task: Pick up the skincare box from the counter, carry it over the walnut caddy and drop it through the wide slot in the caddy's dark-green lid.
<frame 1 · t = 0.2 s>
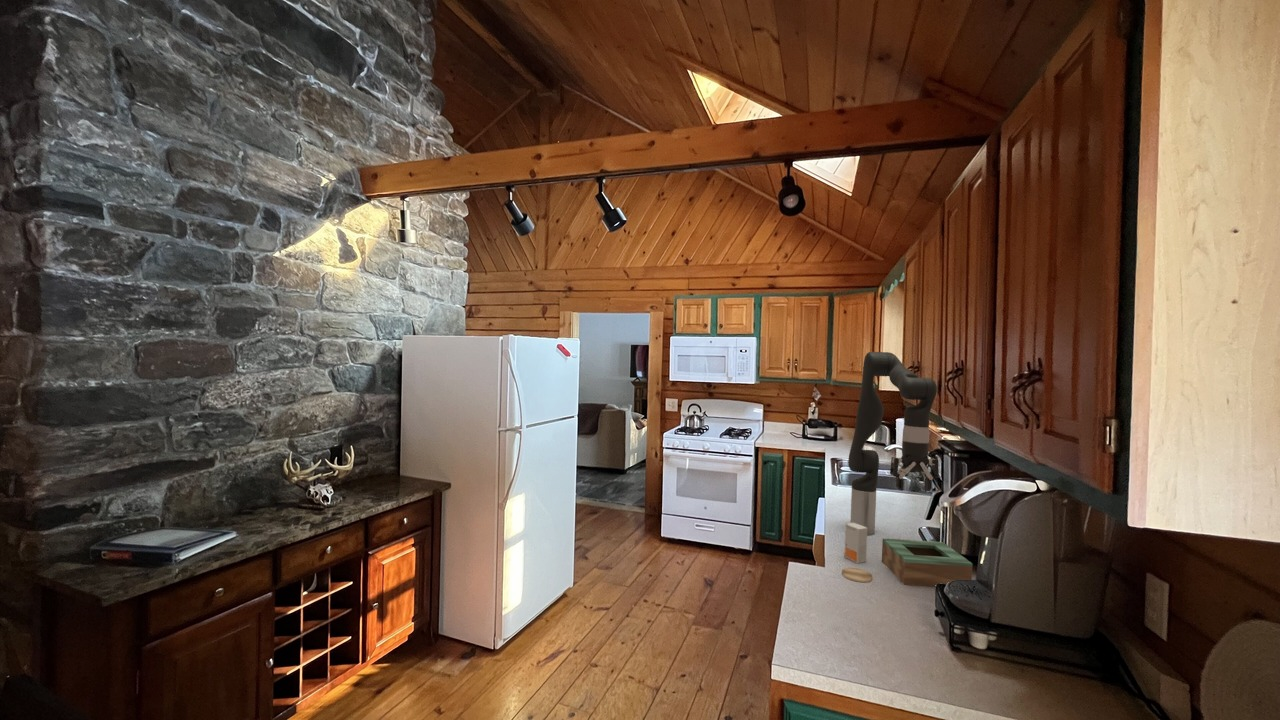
hand: (913, 490, 163), 28 cm above the counter, fingers open, 8 cm apart
caddy: (923, 574, 167), on the counter
skincare box: (855, 560, 178), on the counter
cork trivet: (856, 576, 164), on the counter
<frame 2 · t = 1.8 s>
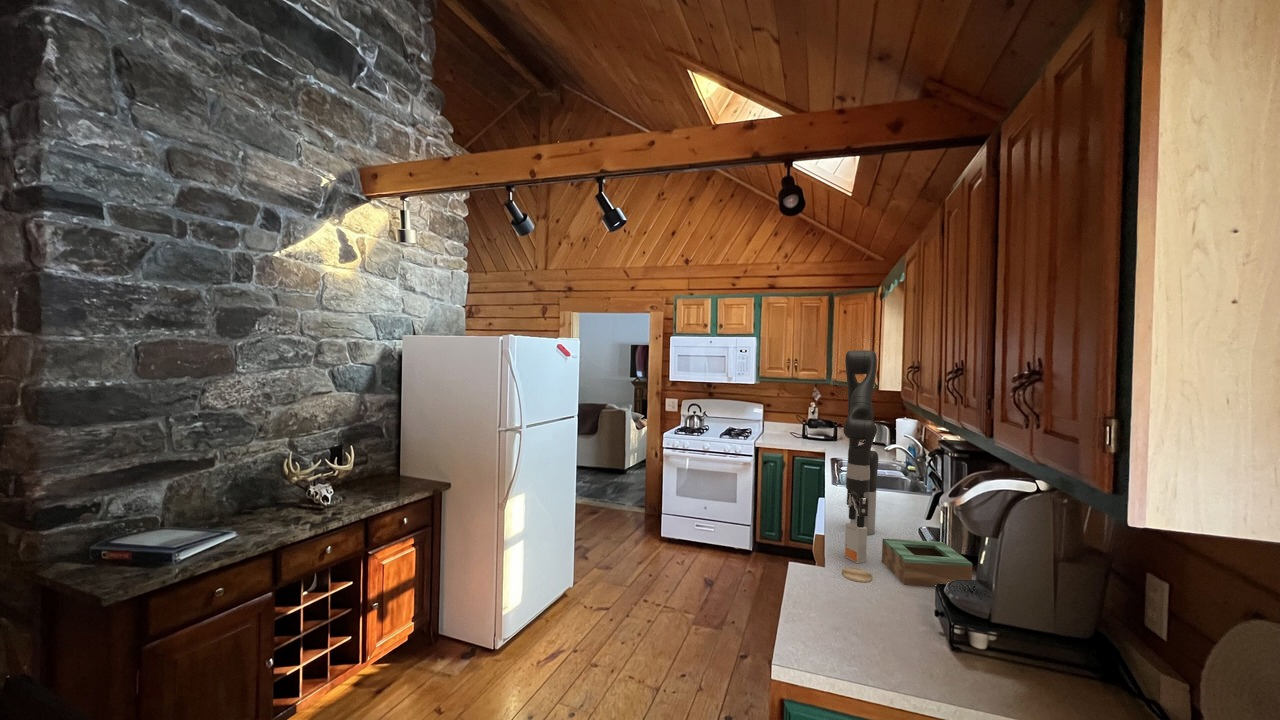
hand: (856, 523, 177), 13 cm above the counter, fingers open, 8 cm apart
nothing on the counter moved.
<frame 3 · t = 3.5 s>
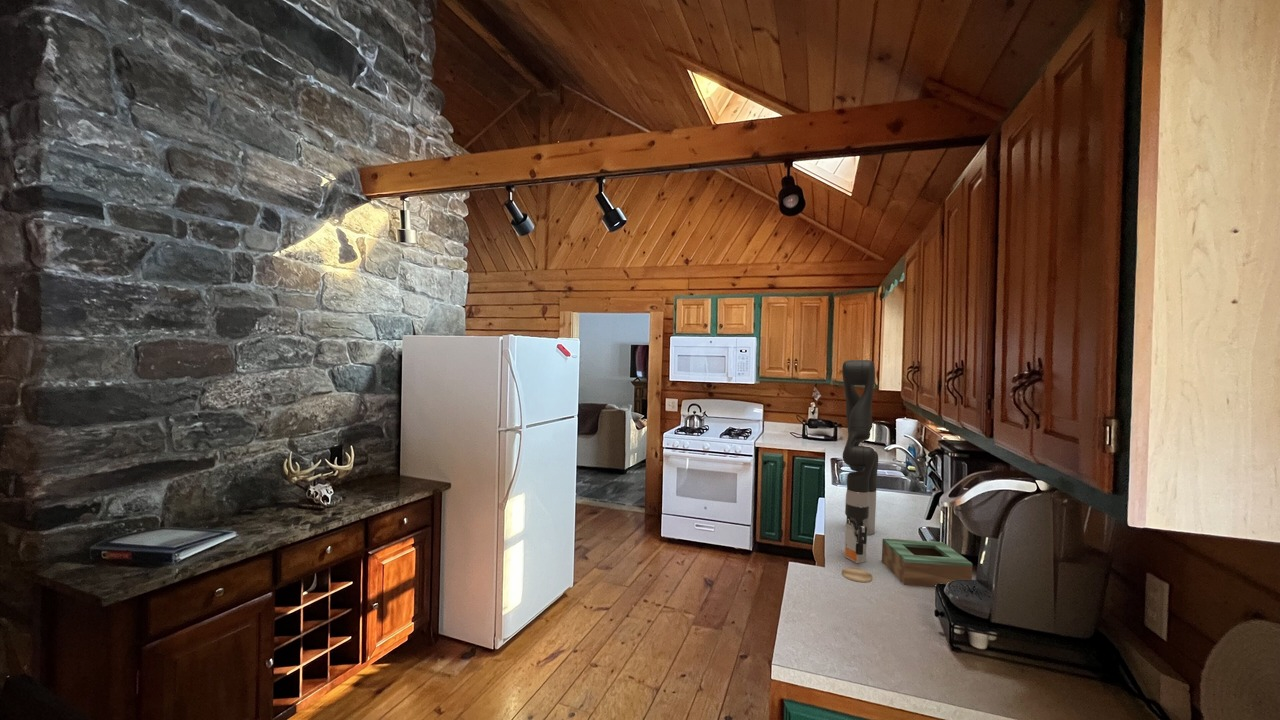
hand: (855, 549, 178), 3 cm above the counter, fingers closed on skincare box, 7 cm apart
skincare box: (854, 560, 178), on the counter, touching gripper
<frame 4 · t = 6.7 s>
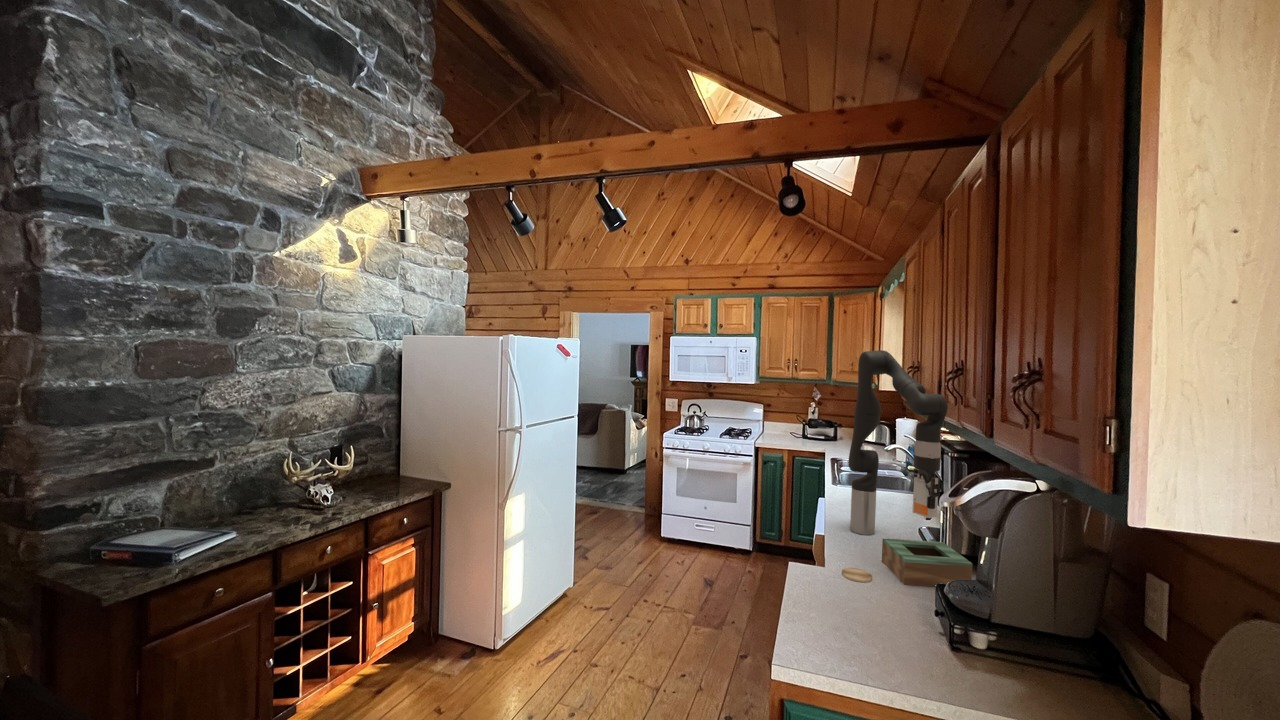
hand: (925, 504, 167), 23 cm above the counter, fingers closed on skincare box, 7 cm apart
skincare box: (924, 515, 167), point 19 cm above the counter, touching gripper
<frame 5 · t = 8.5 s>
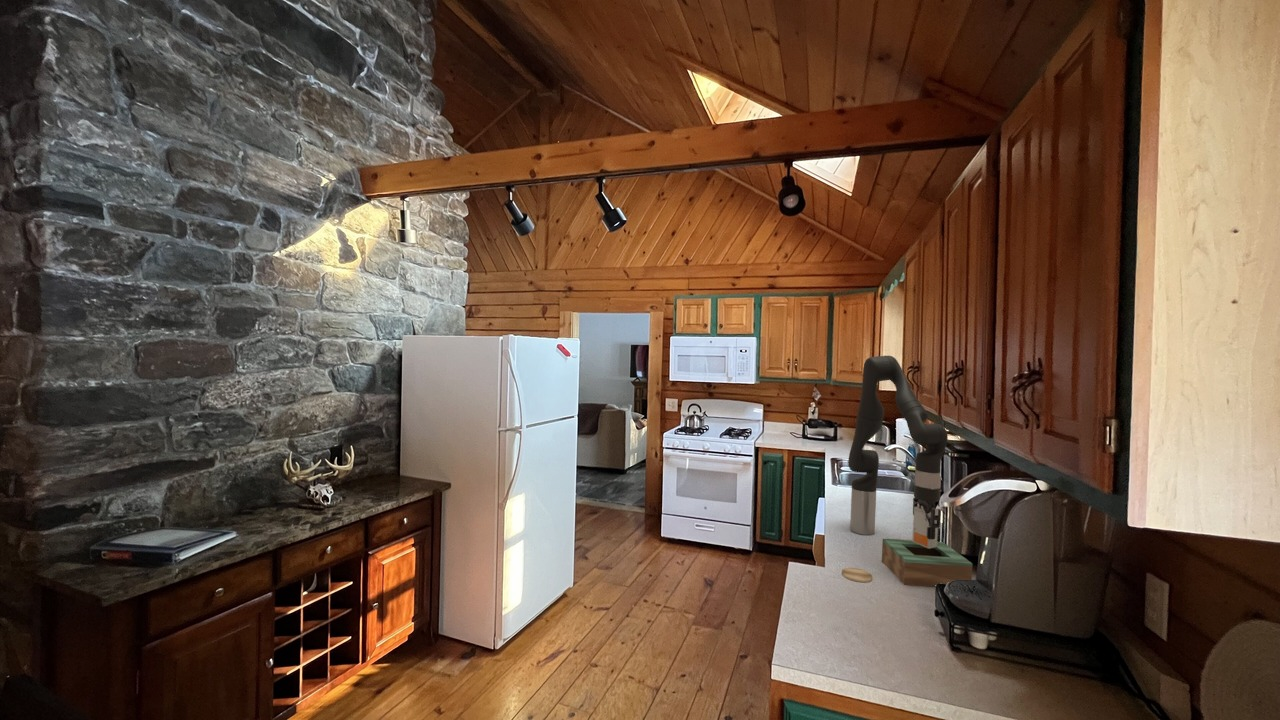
hand: (925, 534, 167), 13 cm above the counter, fingers closed on skincare box, 7 cm apart
skincare box: (924, 545, 167), point 9 cm above the counter, touching gripper
when the fingers open (12 cm above the counter, at t = 9.8 s): skincare box drops 9 cm, resting in caddy.
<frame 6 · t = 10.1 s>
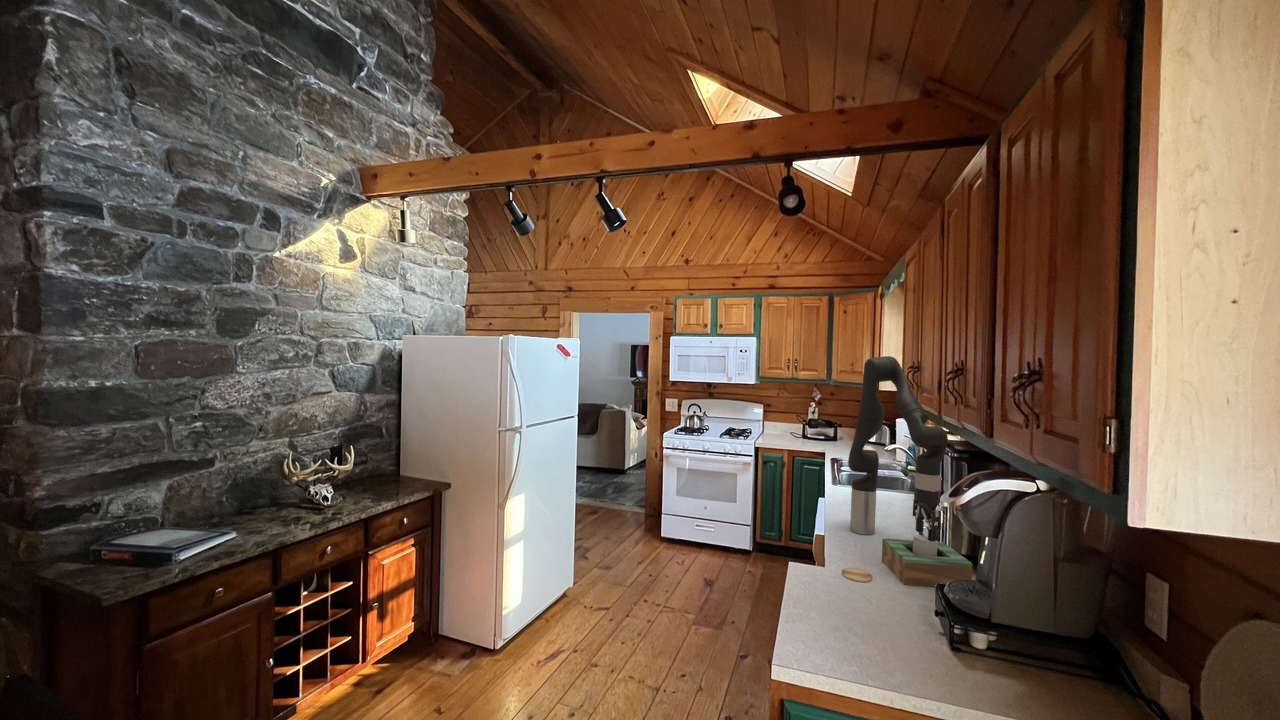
hand: (925, 536, 167), 13 cm above the counter, fingers open, 8 cm apart
skincare box: (923, 575, 167), resting in caddy
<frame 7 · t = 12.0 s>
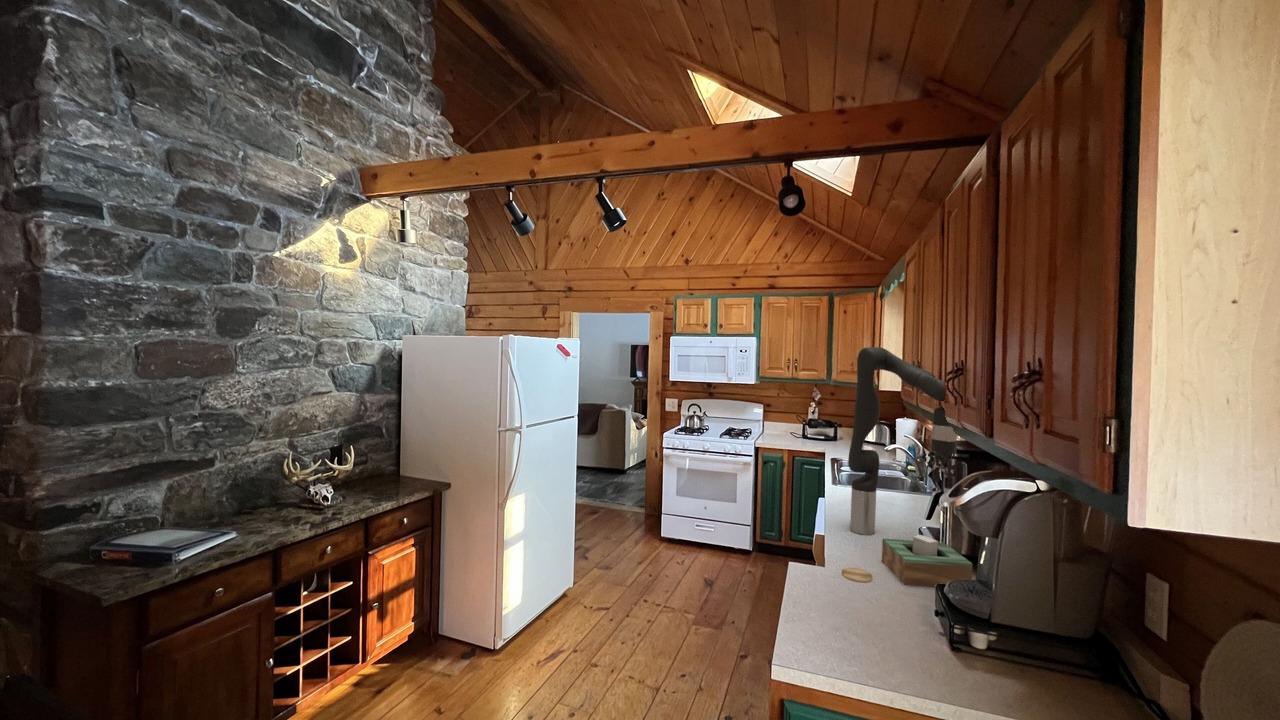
hand: (941, 485, 175), 28 cm above the counter, fingers open, 8 cm apart
nothing on the counter moved.
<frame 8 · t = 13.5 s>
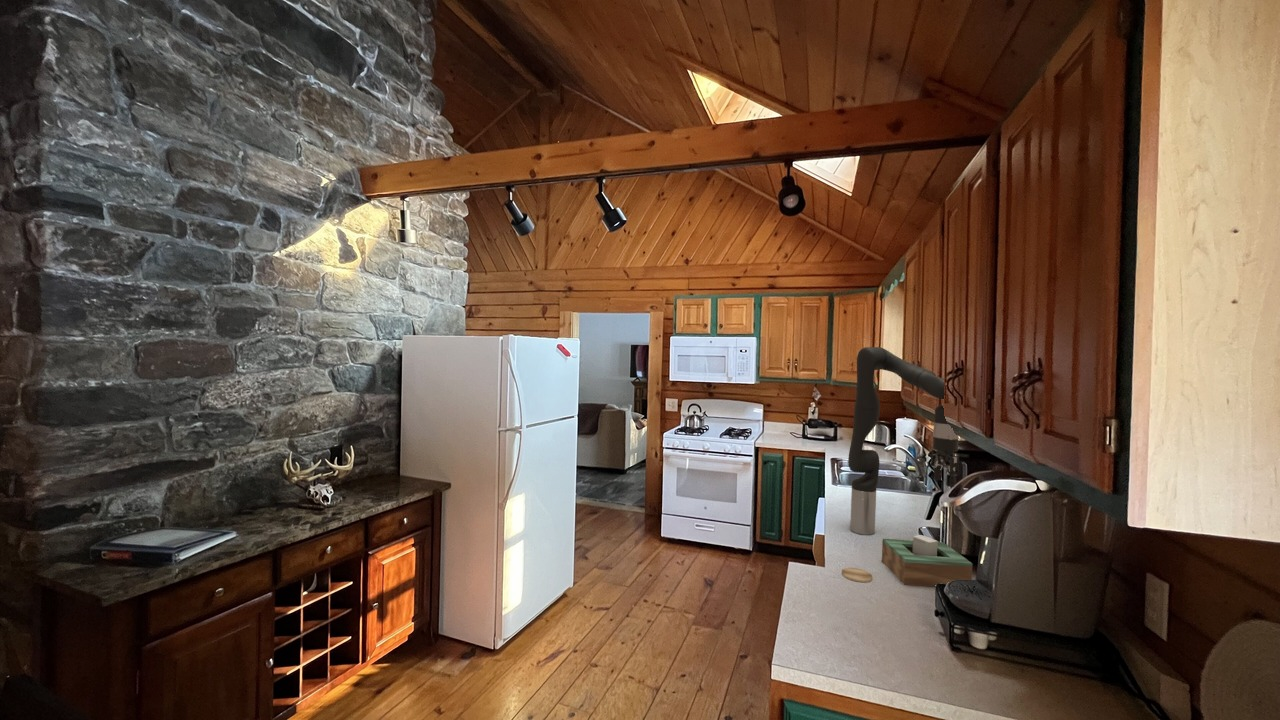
hand: (943, 483, 176), 28 cm above the counter, fingers open, 8 cm apart
nothing on the counter moved.
at the end: skincare box inside the target area on the caddy (0.0 cm from its centre), point 0.0 cm above the caddy's base; the gripper is holding nothing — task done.
